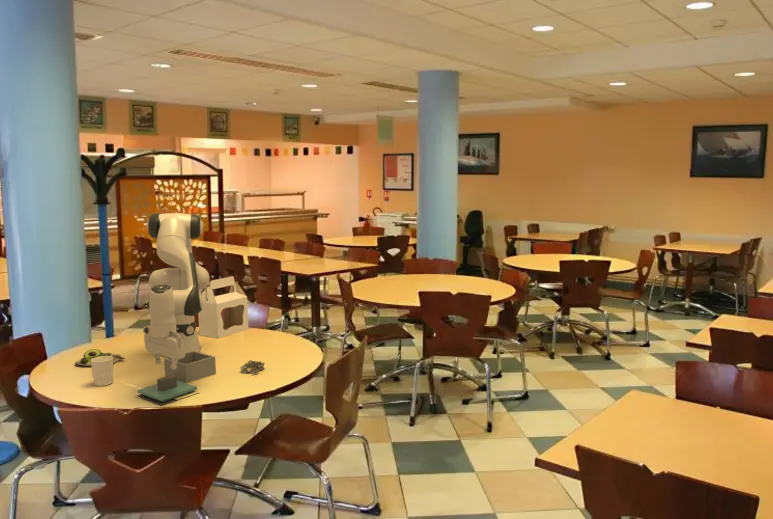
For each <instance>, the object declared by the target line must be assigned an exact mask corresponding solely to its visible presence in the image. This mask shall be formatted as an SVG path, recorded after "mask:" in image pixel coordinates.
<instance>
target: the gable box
mask: <svg viewBox="0 0 773 519" xmlns="http://www.w3.org/2000/svg"><path fill="white" fill-rule="evenodd" d="M229 286H230V289H229V292H228V293H224V294H221V295H215V293H214V290H216V289H220V288H225V287H229ZM201 296H202V300H203V307H202V310H201V311H200V312H199V313H198V314H197V315H198V331H199V332H198V336H201V337H207V338H208V337H209V338H214V339H222V338H224V337H228V336H230V335H233V334H237V333H240V332H244V331H247V330H249V314H248V313H249V312H248V311H249V310H248V308H249V307H248V296H247V294H246V293H245V291H244V290H243V288H242V287H241V285H240V284H239V283H238V281H237V280H236V281H235V278H234V276H233V275H231V276H227V277H221V278H217V279H213V280H209V284H208V285H207V287H206V288H205V289H204V291H203V292H202V293H201ZM223 310H224V311H223ZM222 311H223V312H224V313H223V316H224V317H222ZM223 318H224V320H223Z"/></svg>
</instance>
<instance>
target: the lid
mask: <svg viewBox="0 0 773 519" xmlns="http://www.w3.org/2000/svg"><path fill="white" fill-rule="evenodd" d="M156 380H157V383H156V384H153V385H149V386H146V387H142V388H138V389H137V393H139V394H143V395H145V396H148V397H151V398H154V399H157V400H159V401H162V402H164V401H167V400H170V399H173V398H176V397H179V396H182V395H183V396H184V395H186V394H189V393H191V392H193V391H196V390H198V387H197V385H192V384H190V383H184V382H181V381H178V380H176V376H173V375H170V376H166V377H165V376H162V377H160V378H157V379H156Z"/></svg>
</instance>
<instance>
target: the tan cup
mask: <svg viewBox="0 0 773 519" xmlns="http://www.w3.org/2000/svg"><path fill="white" fill-rule="evenodd" d="M91 366H92V367H91V373H92V378H93V385H94V384H95V385H107V384H110V385H112V384H113V383H114V364H113V357H111V356H100V357H96V358H93V359H91ZM112 382H113V383H112ZM111 383H112V384H111ZM95 385H94V386H95ZM107 386H108V385H107Z"/></svg>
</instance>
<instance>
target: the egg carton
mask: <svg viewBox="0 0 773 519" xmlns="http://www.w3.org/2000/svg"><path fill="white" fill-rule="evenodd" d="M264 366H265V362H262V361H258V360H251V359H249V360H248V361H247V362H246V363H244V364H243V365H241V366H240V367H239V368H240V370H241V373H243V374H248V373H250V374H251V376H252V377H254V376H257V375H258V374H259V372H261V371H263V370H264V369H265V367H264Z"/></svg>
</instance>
